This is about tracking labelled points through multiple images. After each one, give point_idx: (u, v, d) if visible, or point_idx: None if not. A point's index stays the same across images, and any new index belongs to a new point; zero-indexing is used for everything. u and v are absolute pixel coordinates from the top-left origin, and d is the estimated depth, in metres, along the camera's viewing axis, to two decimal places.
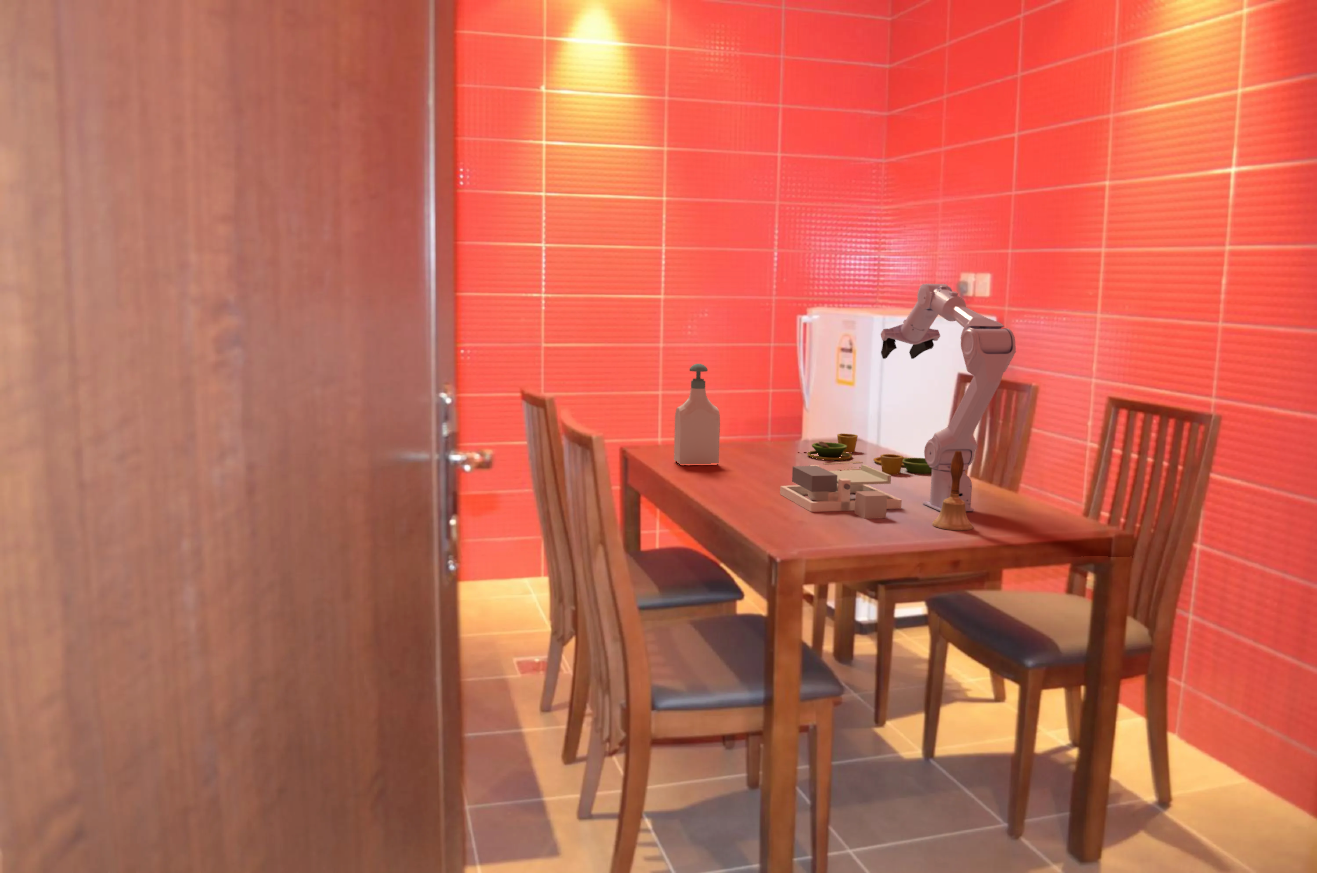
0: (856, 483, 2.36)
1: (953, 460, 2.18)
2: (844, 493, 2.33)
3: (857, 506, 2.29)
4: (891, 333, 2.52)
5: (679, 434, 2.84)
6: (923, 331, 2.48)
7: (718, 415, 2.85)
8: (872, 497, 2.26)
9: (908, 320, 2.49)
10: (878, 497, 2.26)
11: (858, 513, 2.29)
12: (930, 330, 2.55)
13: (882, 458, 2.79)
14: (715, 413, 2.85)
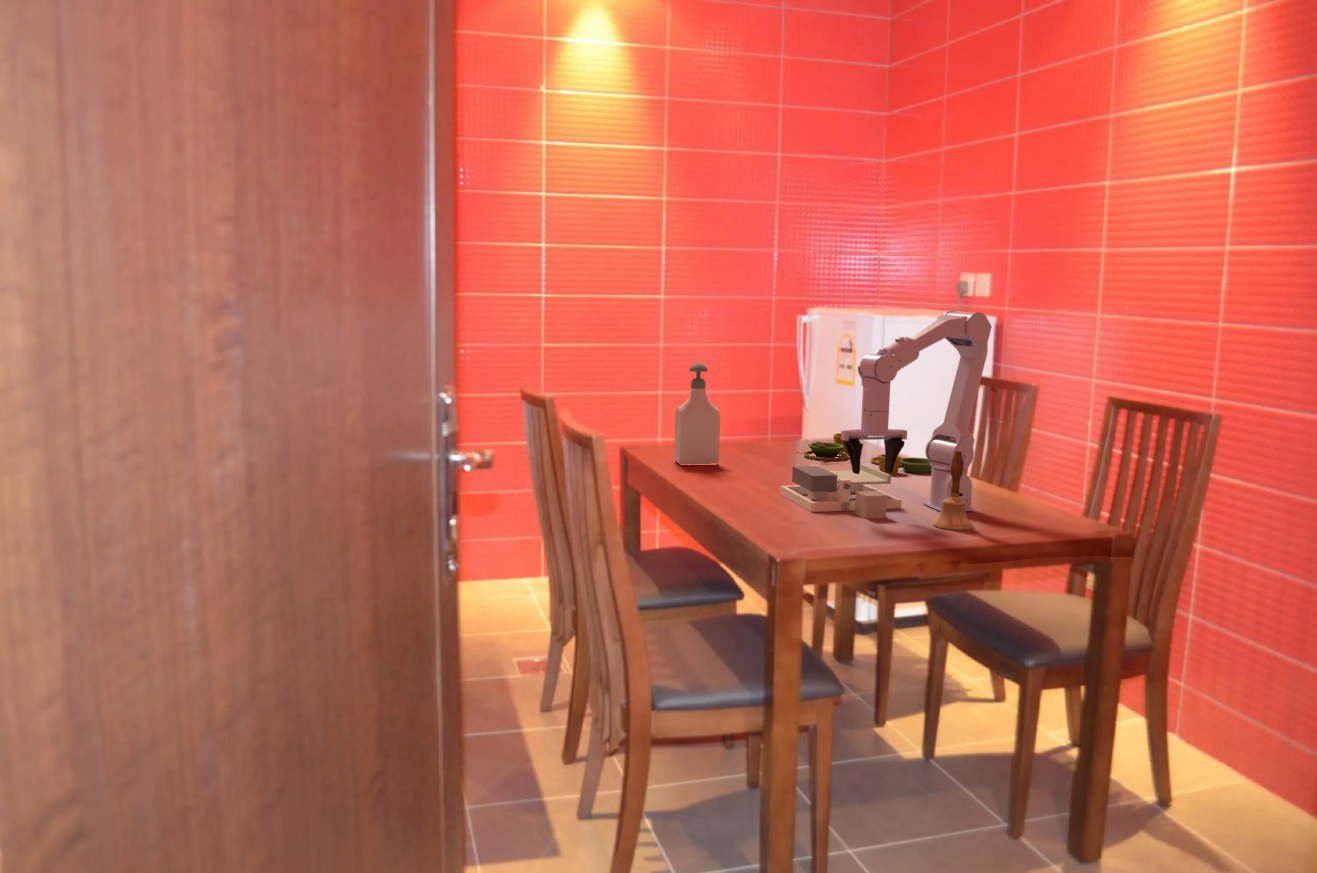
0: (856, 483, 2.36)
1: (953, 460, 2.18)
2: (844, 493, 2.33)
3: (857, 506, 2.29)
4: (851, 432, 2.25)
5: (679, 434, 2.84)
6: (882, 413, 2.23)
7: (718, 415, 2.85)
8: (872, 497, 2.26)
9: (863, 409, 2.25)
10: (878, 497, 2.26)
11: (858, 513, 2.29)
12: None
13: (880, 458, 2.79)
14: (715, 413, 2.85)
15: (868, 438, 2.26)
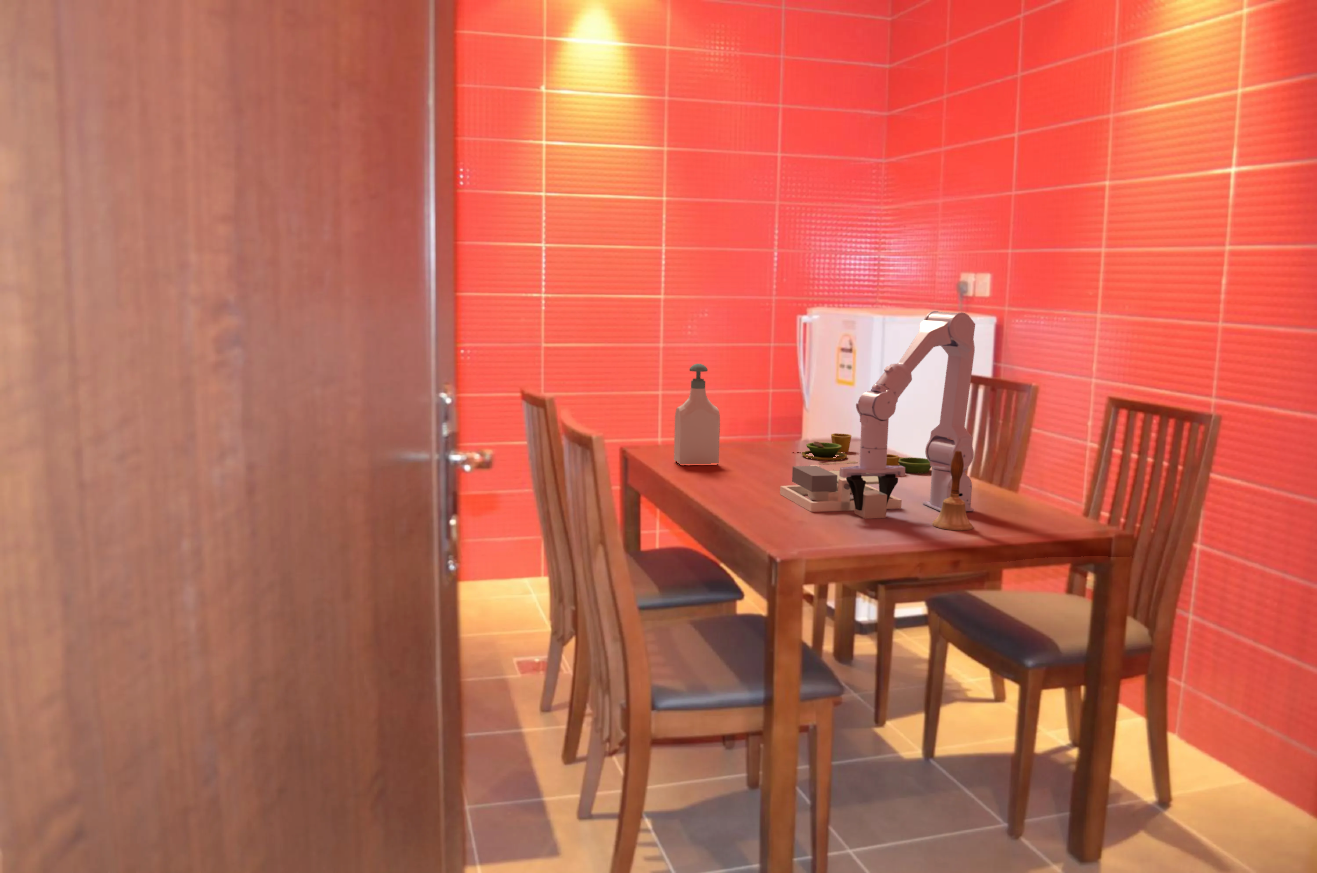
0: None
1: (953, 460, 2.18)
2: (844, 493, 2.33)
3: None
4: (849, 468, 2.26)
5: (679, 434, 2.84)
6: (881, 450, 2.24)
7: (718, 415, 2.85)
8: (872, 496, 2.26)
9: (861, 447, 2.26)
10: (878, 496, 2.26)
11: (858, 512, 2.29)
12: (893, 467, 2.30)
13: None
14: (715, 413, 2.85)
15: (866, 475, 2.27)
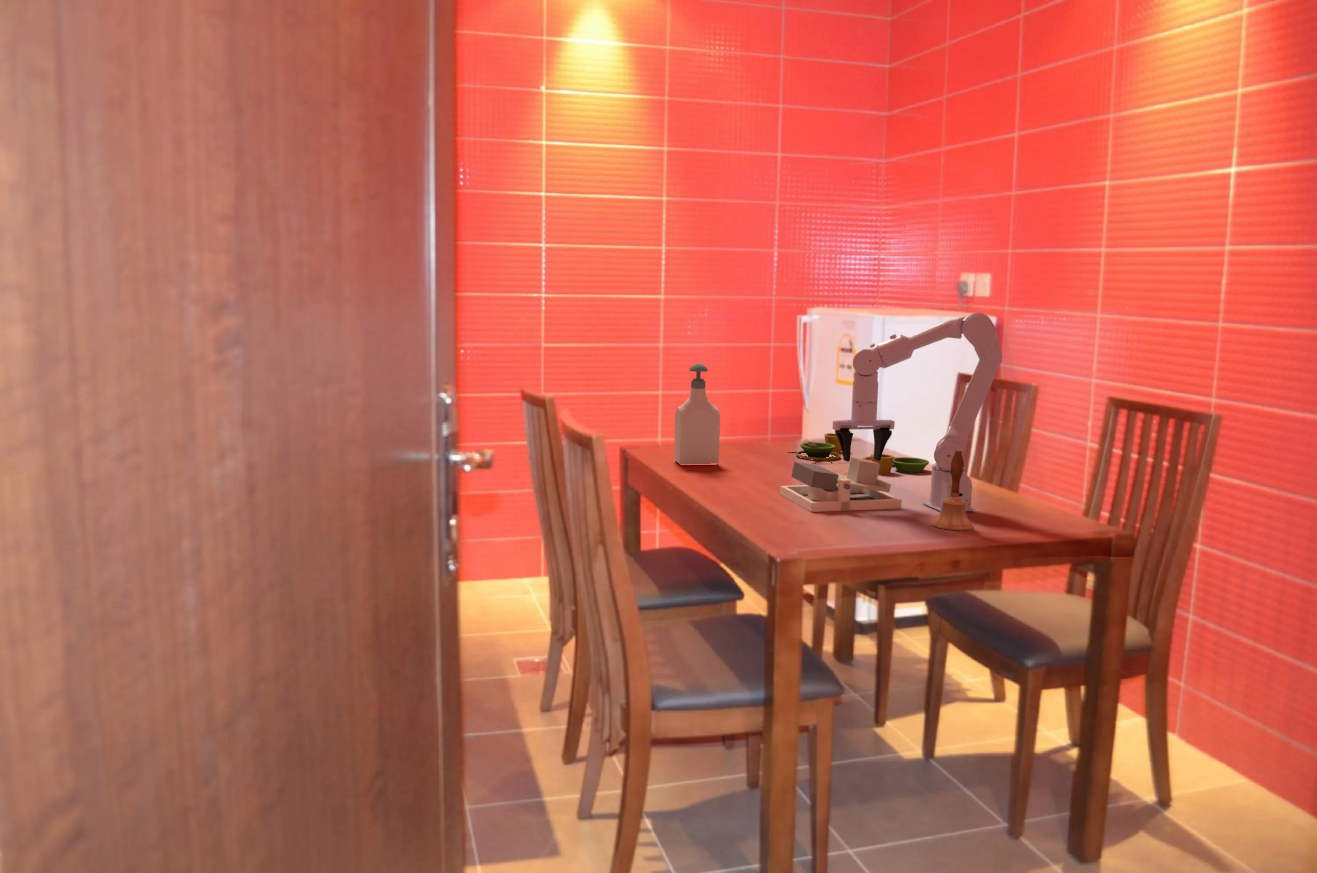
0: (856, 486, 2.36)
1: (953, 460, 2.18)
2: (844, 493, 2.33)
3: (850, 471, 2.44)
4: None
5: (679, 434, 2.84)
6: (871, 404, 2.39)
7: (718, 415, 2.85)
8: (866, 463, 2.40)
9: (853, 401, 2.40)
10: (872, 464, 2.41)
11: (850, 477, 2.43)
12: (883, 421, 2.44)
13: (873, 458, 2.79)
14: (715, 413, 2.85)
15: (858, 428, 2.41)
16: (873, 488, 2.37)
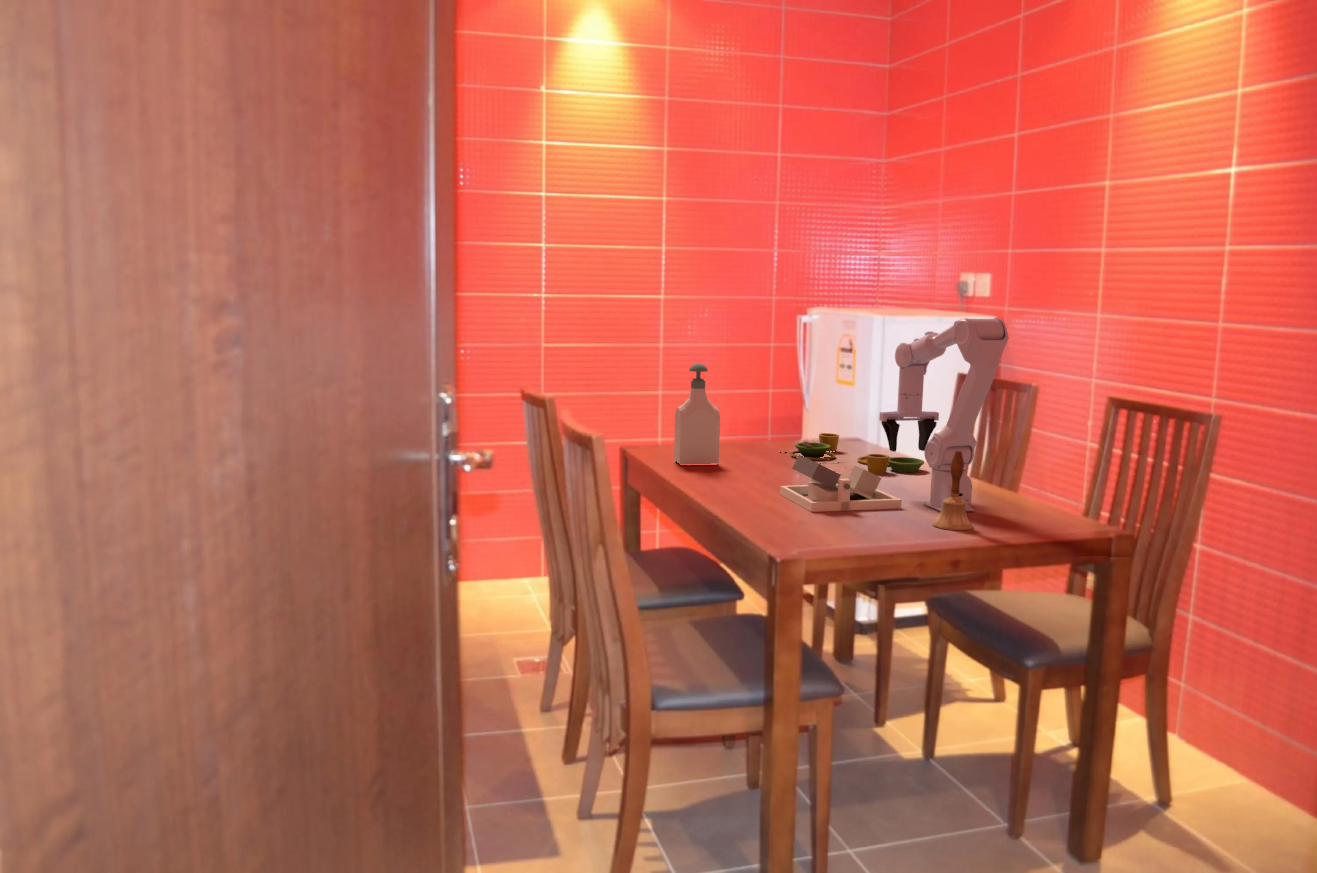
0: (854, 490, 2.36)
1: (953, 460, 2.18)
2: (844, 493, 2.33)
3: (850, 478, 2.44)
4: None
5: (679, 434, 2.84)
6: (917, 396, 2.48)
7: (718, 415, 2.85)
8: (868, 473, 2.41)
9: (899, 393, 2.50)
10: (873, 476, 2.41)
11: None
12: None
13: (868, 458, 2.79)
14: (715, 413, 2.85)
15: (904, 419, 2.50)
16: (870, 497, 2.37)
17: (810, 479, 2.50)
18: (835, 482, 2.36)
